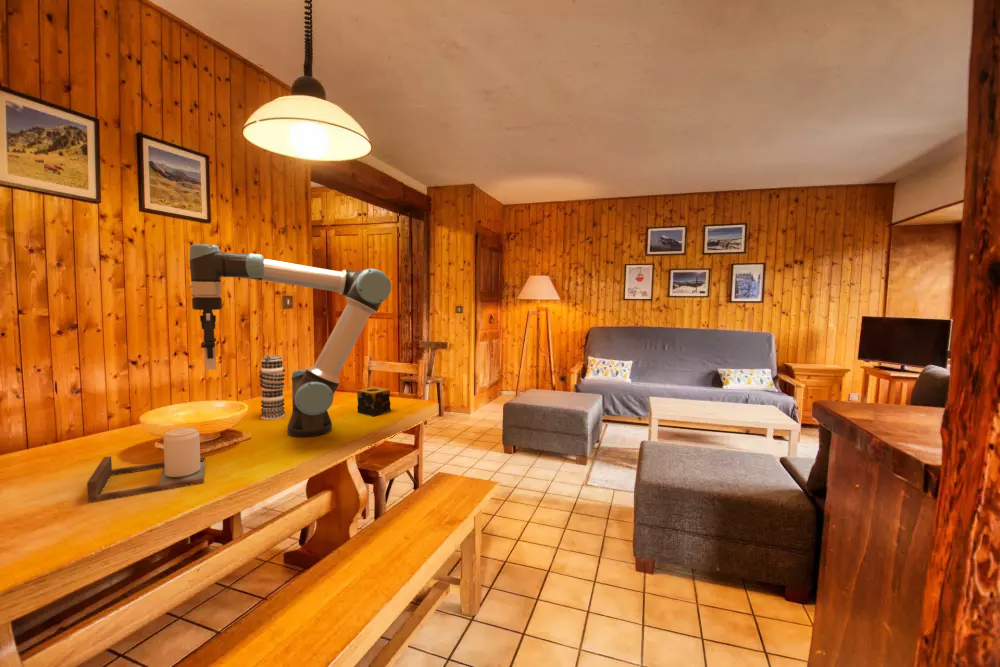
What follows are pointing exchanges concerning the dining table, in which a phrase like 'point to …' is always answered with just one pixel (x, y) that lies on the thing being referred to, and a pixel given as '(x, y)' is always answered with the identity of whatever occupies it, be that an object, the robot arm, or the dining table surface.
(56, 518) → the dining table surface
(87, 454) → the dining table surface
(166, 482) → the dark frame
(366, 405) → the dark patterned box
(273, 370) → the decorative candle
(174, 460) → the beverage can
